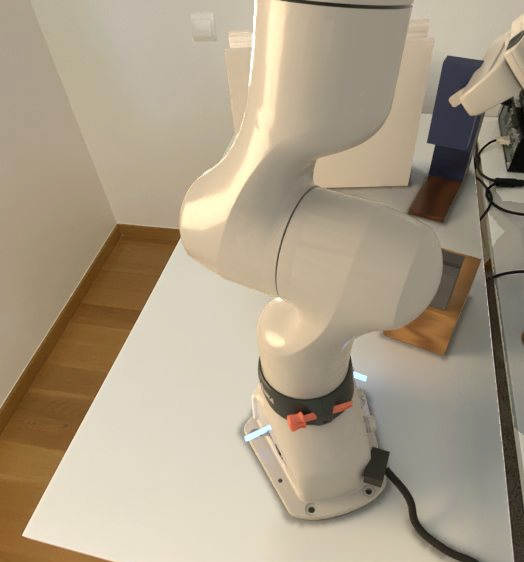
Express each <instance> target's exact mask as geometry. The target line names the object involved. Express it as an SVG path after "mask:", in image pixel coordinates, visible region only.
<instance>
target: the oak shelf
mask: <svg viewBox="0 0 524 562" xmlns="http://www.w3.org/2000/svg"><path fill="white" fill-rule="evenodd" d="M441 250H445V251H448V252H452V253H455V254H459V255H462V256H465V259H464V262H463V265H462V267H461V270H460V273H459V276H458V279H457V282H456V285H455V288H454V291H453V294H452V296H451V299H450V301H449V303H448V305H447V308H446V310H445V311H443V310H440V309H437V308H433V307H430V306H428V307H427V308H426V309H425V310H424V311H423V313H422V314H420V315H419V316H418V317H417V318H416V319H414V320H413V321H412V322H410V323H409V324H407V325H405V326H403V327H401V328H399V329H396V330H384V331H383V335H384V336H386V337H390V338H392V339H395V340H397V341H401V342H403V343H406V344H409V345H412V346H415V347H417V348H420V349H424V350H426V351H430V352H432V353H435V354H438V355H441V356H443V357H444V356H445V355H446V354H445V353H446V351H447V350H448V348H449V344H450V342H451V339H452V337H453V334H454V333H455V330H456V327H457V324H458V321H459V319H460V317H461V315H462V312H463V310H464V307H465V306H466V305H465V304H466V302H467V299H468V297H469V295H470V292H471V289H472V287H473V284H474V281H475V279H476V276H477V273H478V272H479V271H478V270H479V268H480V265H481V262H482V260H483V259H482V258H480V257H476V256H472V255H469V254H465V253H462V252H458V251H454V250H451V249H447V248H443V247H441Z"/></svg>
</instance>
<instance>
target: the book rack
mask: <svg viewBox="0 0 524 562" xmlns="http://www.w3.org/2000/svg"><path fill="white" fill-rule="evenodd" d="M485 115H486V112H484V113H482V114H479V115H477V118H476V122H475V126H474V129H473V133H472V136H471V140H470V144H469V146H468V148H467V150H466V151H463V150H458V149H453V148H448V147H443V146H439V145H434V148H433V151H432V157H431V161H430V166H429V170H428V174H427V177H426V178H425V180H424V182H423V184H422V185H421V187H420V189H419V191H418V193H417V194H416V196H415V198H414V200H413V202H412V203H411V205H410V207H409V209H408V211H407V215H410V216H414V217H419V218H421V219H422V218H423V219H426V220H429V221H434V222H437V223H441V224H443V223H444V222H445V220H446V218H447V216H448V214H449V212H450V210H451V208H452V206H453V204H454V202H455V200H456V198H457V197H458V193H459V192H460V190H461V188H462V186H463V183H464V182H465V179H466V178H467V176H468V173H469V171H470V167H471V164H472V160H473V156H474V153H475V150H476V146H477V143H478V139H479V136H480V132H481V129H482V125H483V123H484V122H483V121H484V118H485Z"/></svg>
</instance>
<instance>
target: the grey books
mask: <svg viewBox="0 0 524 562" xmlns="http://www.w3.org/2000/svg"><path fill="white" fill-rule="evenodd" d="M442 256H443V271H442V277H441V282H440V285H439V288H438V290H437V293H436V295H435V296H434V298H433V300H432V301H431V303H430V304H429V306H430V307H433V308H437V309H440V310H443V311H445V310H446V308H447V305H448V303H449V301H450V299H451V296H452V294H453V291H454V288H455V285H456V282H457V279H458V276H459V273H460V270H461V267H462V265H463V262H464V259H465V256H462V255H459V254H455V253H452V252H448V251H445V250H442Z"/></svg>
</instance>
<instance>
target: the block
mask: <svg viewBox="0 0 524 562" xmlns="http://www.w3.org/2000/svg"><path fill="white" fill-rule="evenodd" d="M429 28H430V19H429V18H424V19H410V22H409V26H408V31H407V36H406V41H405V46H404V50H403V55H402V60H401V65H400V70H399V74H398V79H397V84H396V89H395V93H394V98H393V103H392V108H391V111H390V113H389V115H388V117H387V119H386V121H385V123H384V124H383V126H382V127H381V128H380V129H379V131H378V132H377V133H376V134H375V135H374V136H372V137H371V138H370V139H369V140H367V141H366V142H364V143H362V144H360V145H358V146H356V147H354V148H351V149H349V150H346V151H343V152H340V153H337V154H333V155H330V156H326V157H322V158H318V159H317V161H316V164H315V168H314V174H313V180H314V184H316V185H318V186H320V187H322V188H325V189H329V188H330V189H333V188H334V189H335V188H370V187H373V188H374V187H408V186H409V183H410V178H411V173H412V172H411V171H412V166H413V160H414V155H415V149H416V144H417V138H418V132H419V129H420V122H421V117H422V112H423V106H424V101H425V95H426V90H427V84H428V80H429V74H430V70H431V63H432V57H433V53H434V47H435V41H436V38H435V37H434V36H431V37H428V33H429ZM253 29H254V28H253ZM253 29H252V28H251V29H234V30H233V29H231V30H228V33H227V34H228V45H229V47H228V48H224V49H223V55H224V62H225V63H224V64H225V70H226V77H227V85H228V86H227V87H228V95H229V102H230V109H231V116H232V117H231V118H232V124H233V133H234V140H235V139H236V137H237V135H238V132H239V130H240V127H241V124H242V121H243V118H244V114H245V110H246V104H247V98H248V90H249V81H250V70H251V58H252V44H253Z"/></svg>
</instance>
